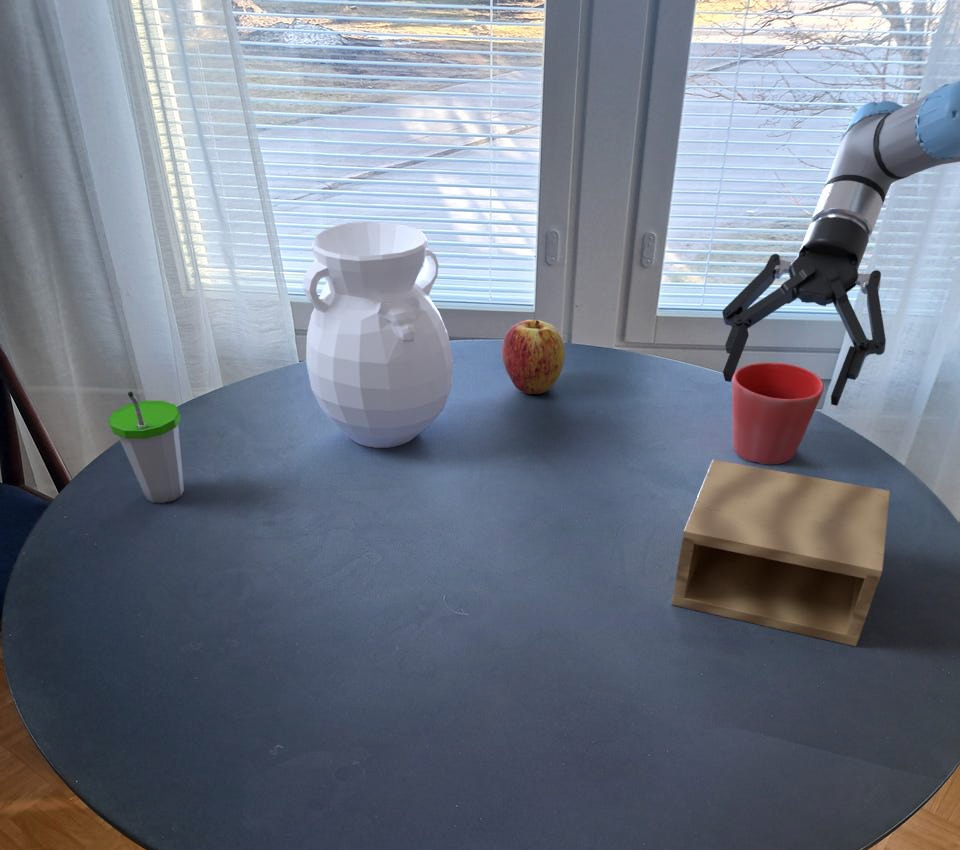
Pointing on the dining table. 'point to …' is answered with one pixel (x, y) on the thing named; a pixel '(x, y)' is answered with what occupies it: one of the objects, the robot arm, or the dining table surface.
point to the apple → (533, 356)
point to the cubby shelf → (783, 551)
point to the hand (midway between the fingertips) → (779, 389)
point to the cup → (152, 446)
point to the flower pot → (772, 410)
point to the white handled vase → (376, 333)
